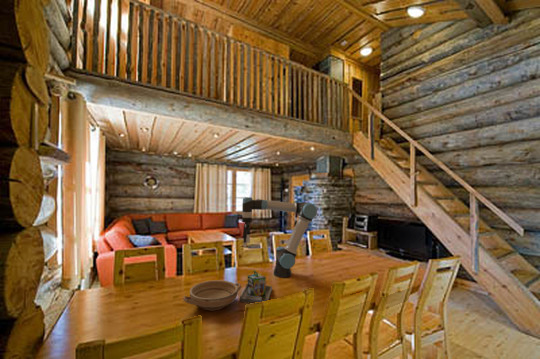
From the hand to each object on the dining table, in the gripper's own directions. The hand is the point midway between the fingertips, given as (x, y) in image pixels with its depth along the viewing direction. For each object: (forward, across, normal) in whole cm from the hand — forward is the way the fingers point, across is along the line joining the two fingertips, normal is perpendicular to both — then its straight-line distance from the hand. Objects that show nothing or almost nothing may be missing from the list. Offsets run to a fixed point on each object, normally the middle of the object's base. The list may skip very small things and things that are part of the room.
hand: (246, 244), depth 189 cm
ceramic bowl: (+28, +42, -12) cm, 51 cm away
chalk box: (+26, +26, +12) cm, 39 cm away
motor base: (+28, +24, +12) cm, 38 cm away
